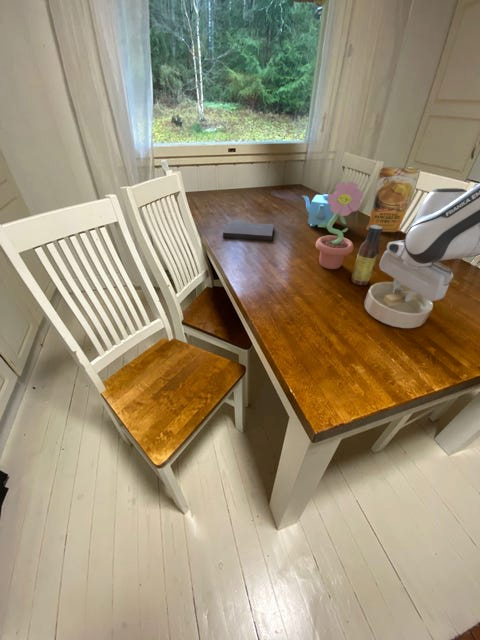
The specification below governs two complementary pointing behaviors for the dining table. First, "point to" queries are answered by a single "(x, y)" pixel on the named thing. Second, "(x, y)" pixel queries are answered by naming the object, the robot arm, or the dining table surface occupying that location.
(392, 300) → the beige rectangular block
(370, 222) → the pancake mix bag
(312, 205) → the teakettle
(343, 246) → the decorative flower
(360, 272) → the sauce bottle
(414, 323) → the bowl
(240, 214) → the dining table surface
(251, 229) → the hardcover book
